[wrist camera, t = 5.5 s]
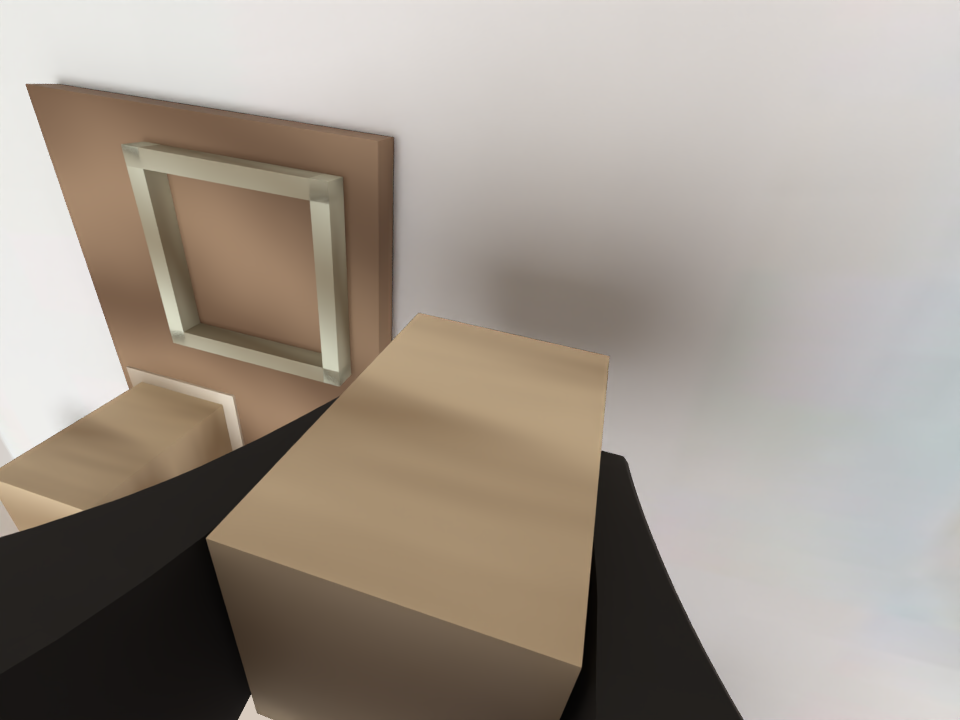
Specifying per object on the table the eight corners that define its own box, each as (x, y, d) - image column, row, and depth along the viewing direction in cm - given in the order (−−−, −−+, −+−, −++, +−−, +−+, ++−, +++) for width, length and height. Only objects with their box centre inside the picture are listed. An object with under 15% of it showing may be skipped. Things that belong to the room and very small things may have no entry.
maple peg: (568, 498, 11) (517, 819, 6) (412, 454, 12) (256, 713, 7) (609, 356, 9) (580, 667, 4) (418, 313, 10) (205, 538, 5)
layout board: (389, 514, 22) (301, 670, 16) (170, 447, 24) (22, 562, 18) (393, 137, 14) (215, 177, 8) (57, 83, 16) (-280, 84, 10)
